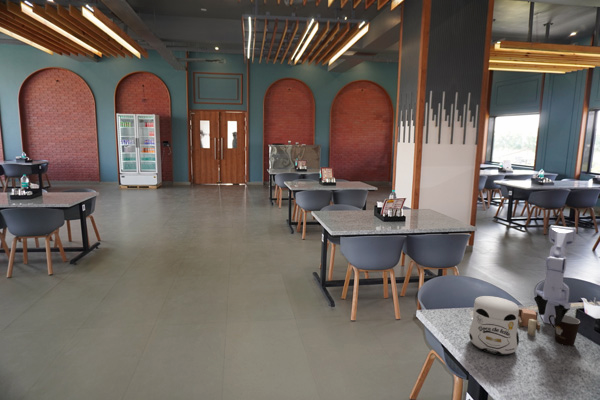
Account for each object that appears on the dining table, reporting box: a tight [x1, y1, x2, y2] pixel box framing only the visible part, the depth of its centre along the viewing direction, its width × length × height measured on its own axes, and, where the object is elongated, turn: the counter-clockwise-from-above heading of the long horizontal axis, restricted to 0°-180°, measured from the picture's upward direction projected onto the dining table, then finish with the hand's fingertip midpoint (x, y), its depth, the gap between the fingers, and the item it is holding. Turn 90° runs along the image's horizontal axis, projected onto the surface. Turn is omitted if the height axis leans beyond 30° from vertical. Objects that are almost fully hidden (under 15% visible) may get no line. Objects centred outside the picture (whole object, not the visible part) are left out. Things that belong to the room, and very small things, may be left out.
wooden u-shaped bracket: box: [517, 308, 541, 332], centre depth 172 cm, size 9×8×5 cm
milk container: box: [468, 295, 520, 356], centre depth 150 cm, size 17×17×18 cm
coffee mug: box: [549, 314, 581, 347], centre depth 157 cm, size 12×9×10 cm
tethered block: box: [521, 308, 537, 336], centre depth 168 cm, size 14×5×6 cm, turn 157°
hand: (549, 318), depth 156 cm, fingers open, 7 cm apart
